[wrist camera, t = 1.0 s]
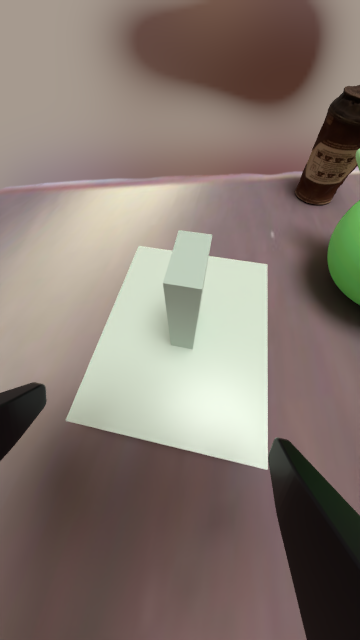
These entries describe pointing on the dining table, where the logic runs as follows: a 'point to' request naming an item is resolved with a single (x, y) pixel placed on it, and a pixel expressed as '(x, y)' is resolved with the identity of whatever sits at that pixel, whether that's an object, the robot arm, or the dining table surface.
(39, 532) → the dining table surface
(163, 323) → the lid
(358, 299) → the toy bird
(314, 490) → the robot arm
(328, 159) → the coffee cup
